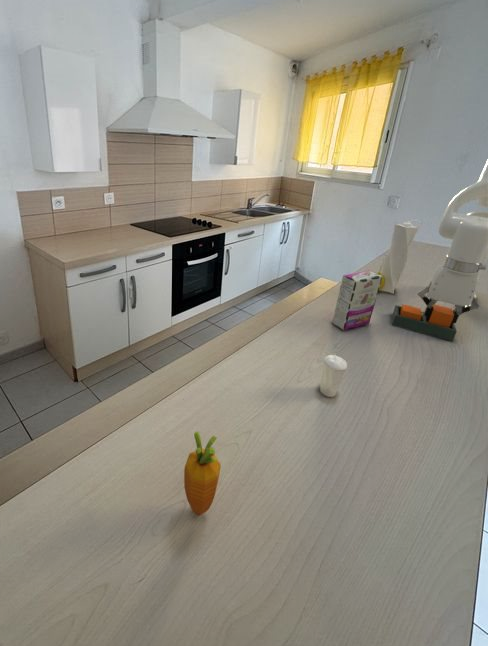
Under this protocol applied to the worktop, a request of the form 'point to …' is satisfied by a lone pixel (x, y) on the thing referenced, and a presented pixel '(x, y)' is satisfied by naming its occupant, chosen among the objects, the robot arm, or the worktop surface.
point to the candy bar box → (356, 299)
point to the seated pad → (410, 312)
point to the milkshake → (332, 374)
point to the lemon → (381, 281)
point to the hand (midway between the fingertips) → (438, 320)
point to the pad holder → (423, 326)
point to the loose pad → (441, 316)
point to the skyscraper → (397, 255)
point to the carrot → (201, 476)
